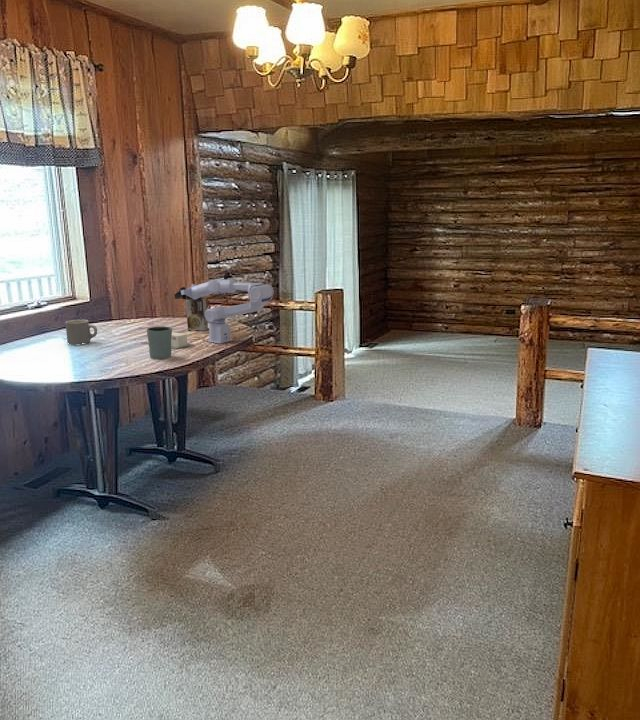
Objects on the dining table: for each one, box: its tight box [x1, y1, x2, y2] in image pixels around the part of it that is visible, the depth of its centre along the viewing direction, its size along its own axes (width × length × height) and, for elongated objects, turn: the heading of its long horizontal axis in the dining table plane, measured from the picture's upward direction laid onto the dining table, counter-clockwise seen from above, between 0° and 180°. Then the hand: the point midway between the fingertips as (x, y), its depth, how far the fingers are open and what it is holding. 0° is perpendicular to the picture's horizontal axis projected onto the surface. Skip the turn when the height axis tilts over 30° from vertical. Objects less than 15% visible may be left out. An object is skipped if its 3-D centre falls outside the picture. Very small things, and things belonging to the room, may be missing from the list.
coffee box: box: [185, 297, 209, 331], centre depth 321 cm, size 9×6×16 cm
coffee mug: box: [65, 319, 98, 345], centre depth 293 cm, size 13×10×10 cm
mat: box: [140, 340, 194, 350], centre depth 289 cm, size 24×11×1 cm, turn 51°
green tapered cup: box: [146, 325, 173, 360], centre depth 262 cm, size 10×10×12 cm
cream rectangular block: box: [171, 331, 188, 347], centre depth 285 cm, size 10×5×5 cm, turn 51°
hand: (181, 296), depth 300 cm, fingers open, 7 cm apart
